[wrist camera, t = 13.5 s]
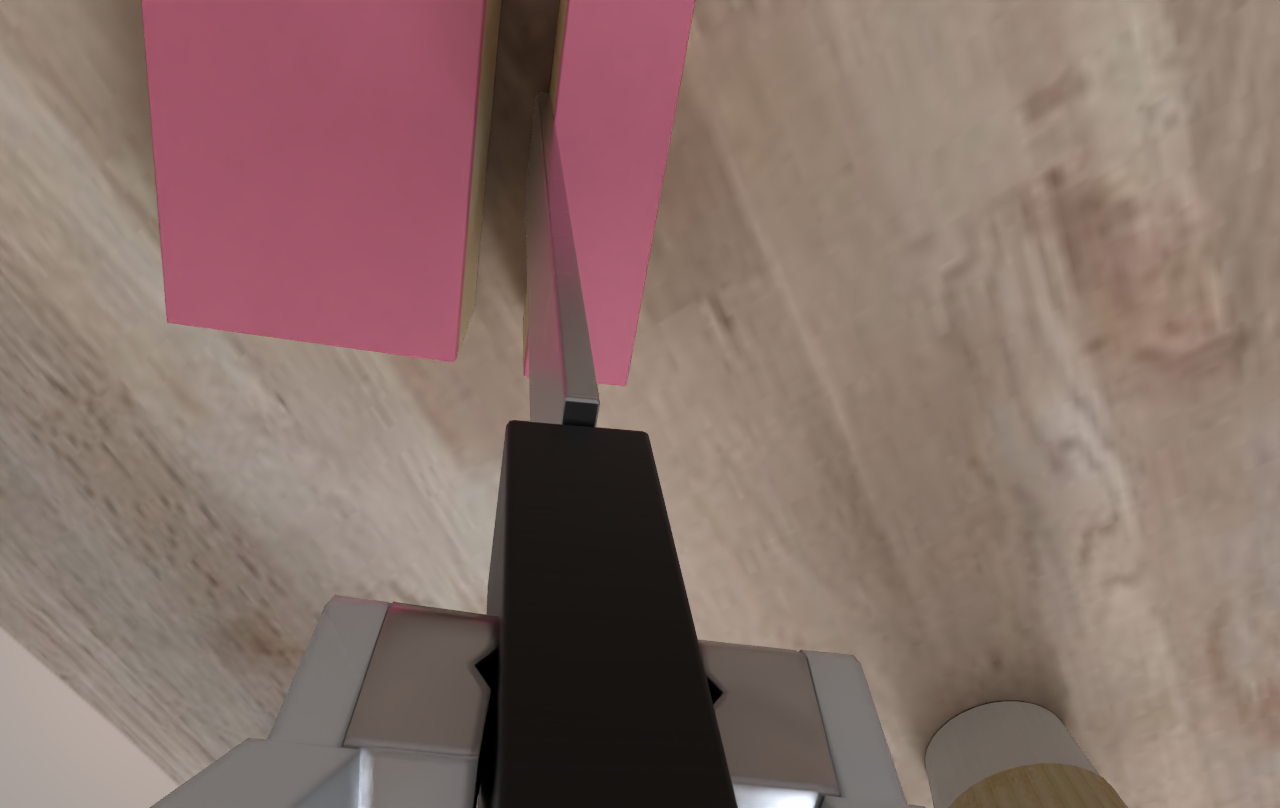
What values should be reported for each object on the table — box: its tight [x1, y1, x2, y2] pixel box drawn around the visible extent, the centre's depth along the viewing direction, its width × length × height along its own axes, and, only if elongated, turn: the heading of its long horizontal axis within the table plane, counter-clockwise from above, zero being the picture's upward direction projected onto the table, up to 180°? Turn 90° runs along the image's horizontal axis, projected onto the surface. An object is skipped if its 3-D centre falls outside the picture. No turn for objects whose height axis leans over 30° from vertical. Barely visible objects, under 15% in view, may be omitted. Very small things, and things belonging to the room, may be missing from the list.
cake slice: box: [523, 0, 695, 386], centre depth 26 cm, size 3×12×4 cm, turn 171°
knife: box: [478, 92, 738, 808], centre depth 16 cm, size 2×3×25 cm, turn 170°
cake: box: [141, 0, 502, 362], centre depth 25 cm, size 8×12×4 cm
